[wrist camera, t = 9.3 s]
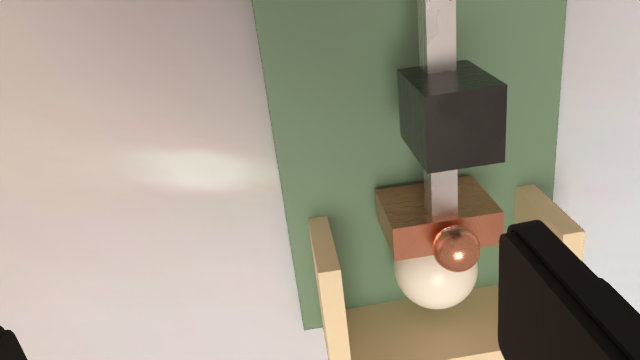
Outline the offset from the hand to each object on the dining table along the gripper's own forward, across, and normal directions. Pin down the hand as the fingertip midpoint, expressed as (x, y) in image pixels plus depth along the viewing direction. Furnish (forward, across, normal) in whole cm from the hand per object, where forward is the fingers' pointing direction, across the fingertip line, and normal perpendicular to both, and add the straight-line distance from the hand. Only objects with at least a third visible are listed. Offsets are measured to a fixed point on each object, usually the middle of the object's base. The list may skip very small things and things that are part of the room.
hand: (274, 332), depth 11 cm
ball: (+18, -9, +13) cm, 24 cm away
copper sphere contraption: (+21, -9, +4) cm, 23 cm away
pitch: (+22, -9, +3) cm, 24 cm away
